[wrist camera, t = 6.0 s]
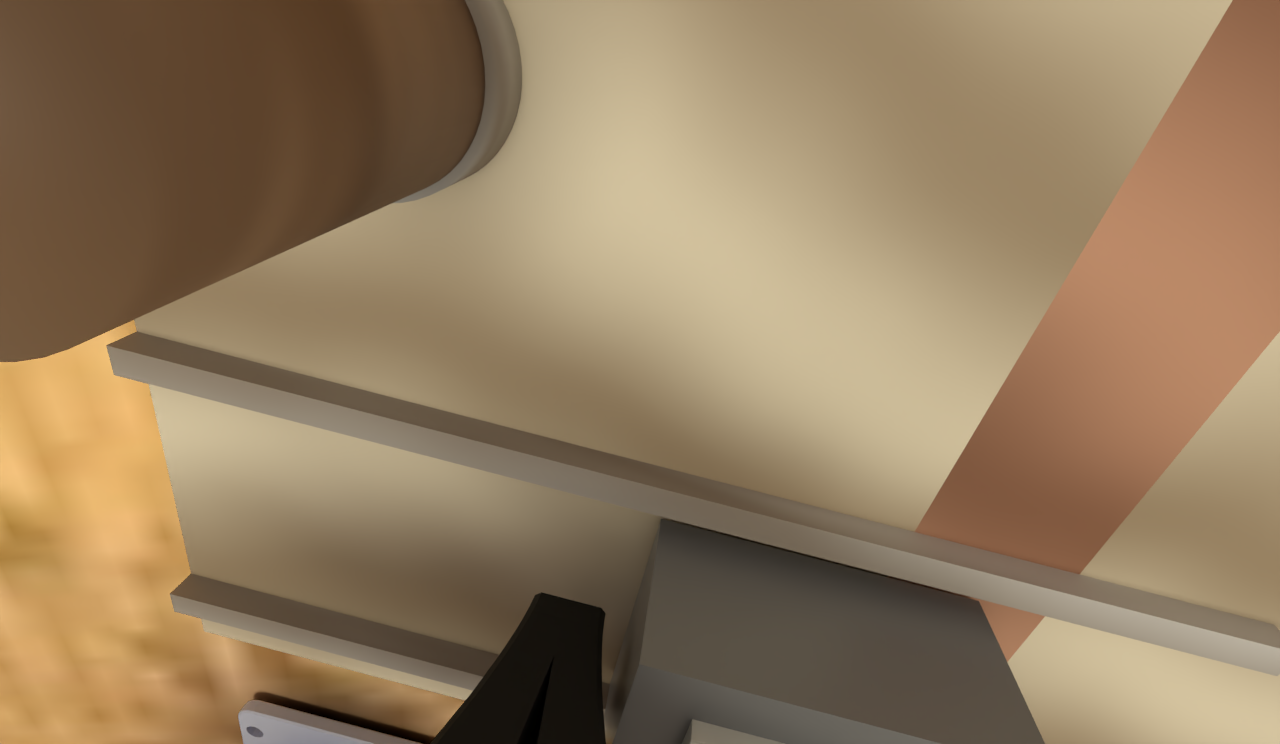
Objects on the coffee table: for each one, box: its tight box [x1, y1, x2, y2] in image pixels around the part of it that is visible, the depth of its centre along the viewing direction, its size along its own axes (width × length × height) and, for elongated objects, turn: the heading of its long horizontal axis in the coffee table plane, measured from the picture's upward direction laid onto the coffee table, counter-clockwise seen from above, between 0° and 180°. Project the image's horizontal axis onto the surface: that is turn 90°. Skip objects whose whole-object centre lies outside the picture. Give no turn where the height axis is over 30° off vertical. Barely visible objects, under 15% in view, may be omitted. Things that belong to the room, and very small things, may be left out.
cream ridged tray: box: [107, 0, 1280, 744], centre depth 11 cm, size 18×24×2 cm
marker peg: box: [0, 0, 522, 362], centre depth 5 cm, size 3×3×6 cm
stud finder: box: [604, 519, 1045, 744], centre depth 11 cm, size 5×6×4 cm
